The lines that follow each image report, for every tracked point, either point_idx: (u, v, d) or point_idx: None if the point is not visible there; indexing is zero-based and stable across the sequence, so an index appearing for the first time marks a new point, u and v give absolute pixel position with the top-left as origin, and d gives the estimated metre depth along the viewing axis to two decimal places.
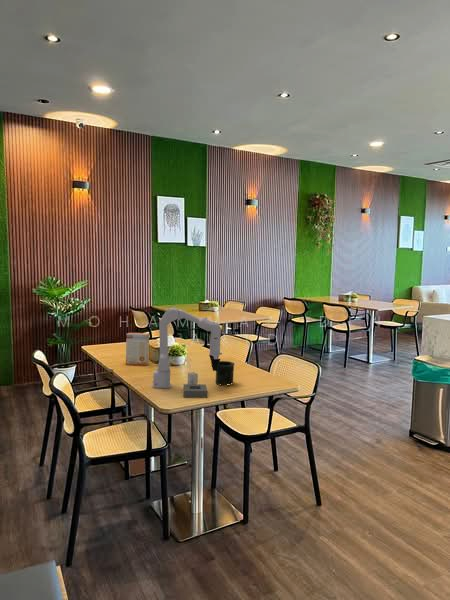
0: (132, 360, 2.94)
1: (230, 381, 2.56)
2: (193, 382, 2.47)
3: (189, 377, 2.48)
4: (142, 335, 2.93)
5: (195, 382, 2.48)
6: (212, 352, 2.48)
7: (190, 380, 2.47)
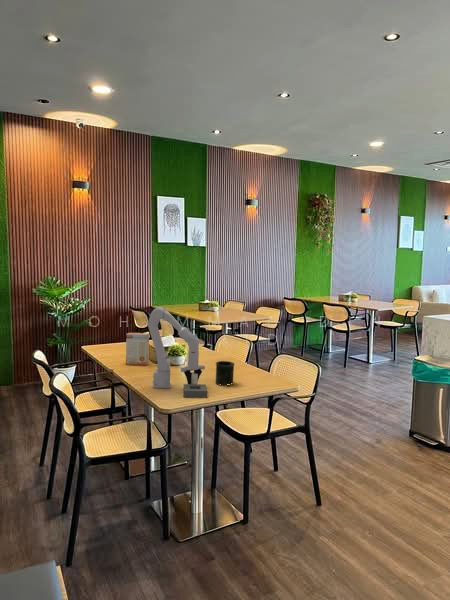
0: (132, 360, 2.94)
1: (230, 381, 2.56)
2: (193, 382, 2.47)
3: None
4: (142, 335, 2.93)
5: (195, 382, 2.48)
6: (188, 365, 2.48)
7: None
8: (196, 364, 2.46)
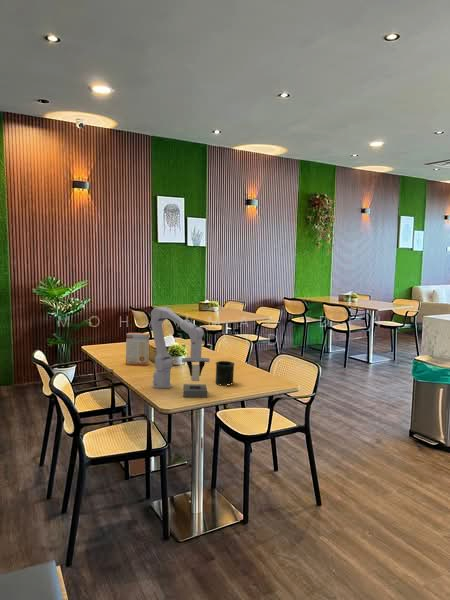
0: (132, 360, 2.94)
1: (230, 381, 2.56)
2: (194, 374, 2.37)
3: None
4: (142, 335, 2.93)
5: (196, 375, 2.37)
6: None
7: None
8: (197, 355, 2.35)
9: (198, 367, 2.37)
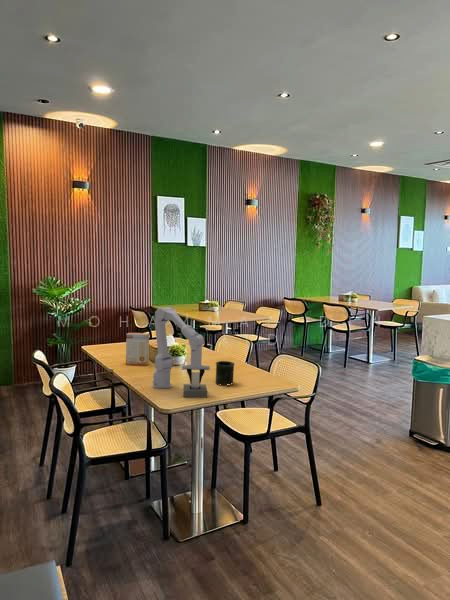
0: (132, 360, 2.94)
1: (230, 381, 2.56)
2: (194, 382, 2.35)
3: None
4: (142, 335, 2.93)
5: (196, 382, 2.36)
6: None
7: None
8: (197, 363, 2.34)
9: (198, 375, 2.35)
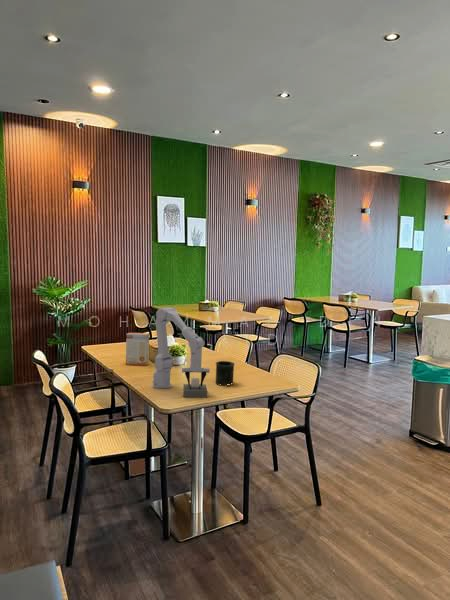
0: (132, 360, 2.94)
1: (230, 381, 2.56)
2: (193, 388, 2.36)
3: (191, 382, 2.37)
4: (142, 335, 2.93)
5: (196, 388, 2.36)
6: None
7: (191, 386, 2.36)
8: (196, 366, 2.34)
9: (198, 381, 2.36)
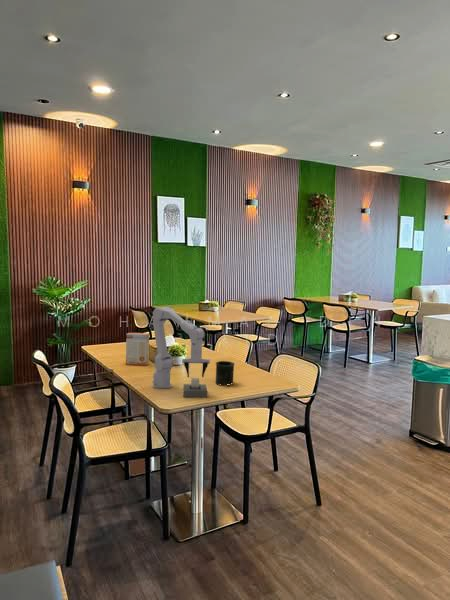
0: (132, 360, 2.94)
1: (230, 381, 2.56)
2: (193, 388, 2.36)
3: (191, 382, 2.37)
4: (142, 335, 2.93)
5: (196, 388, 2.36)
6: None
7: (191, 386, 2.36)
8: (197, 357, 2.33)
9: (198, 381, 2.36)
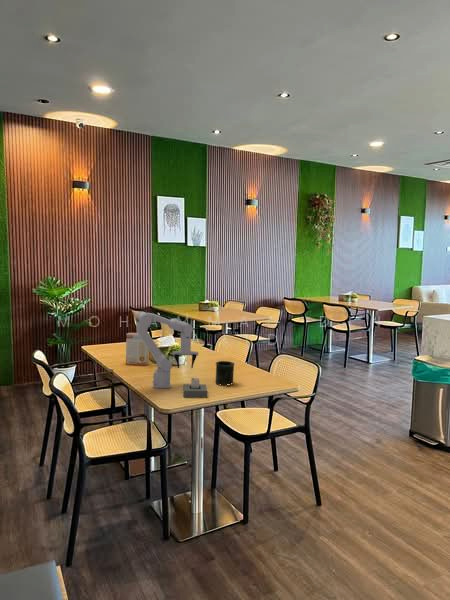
0: (132, 360, 2.94)
1: (230, 381, 2.56)
2: (193, 388, 2.36)
3: (191, 382, 2.37)
4: None
5: (196, 388, 2.36)
6: None
7: (191, 386, 2.36)
8: (186, 349, 2.51)
9: (198, 381, 2.36)
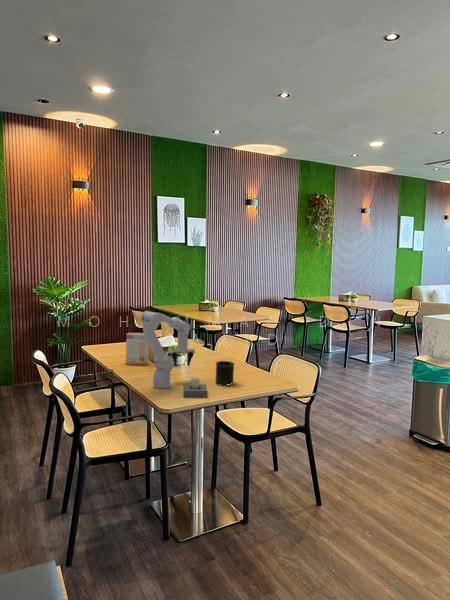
0: (132, 360, 2.94)
1: (230, 381, 2.56)
2: (193, 388, 2.36)
3: (191, 382, 2.37)
4: (142, 335, 2.93)
5: (196, 388, 2.36)
6: None
7: (191, 386, 2.36)
8: (184, 347, 2.57)
9: (198, 381, 2.36)
